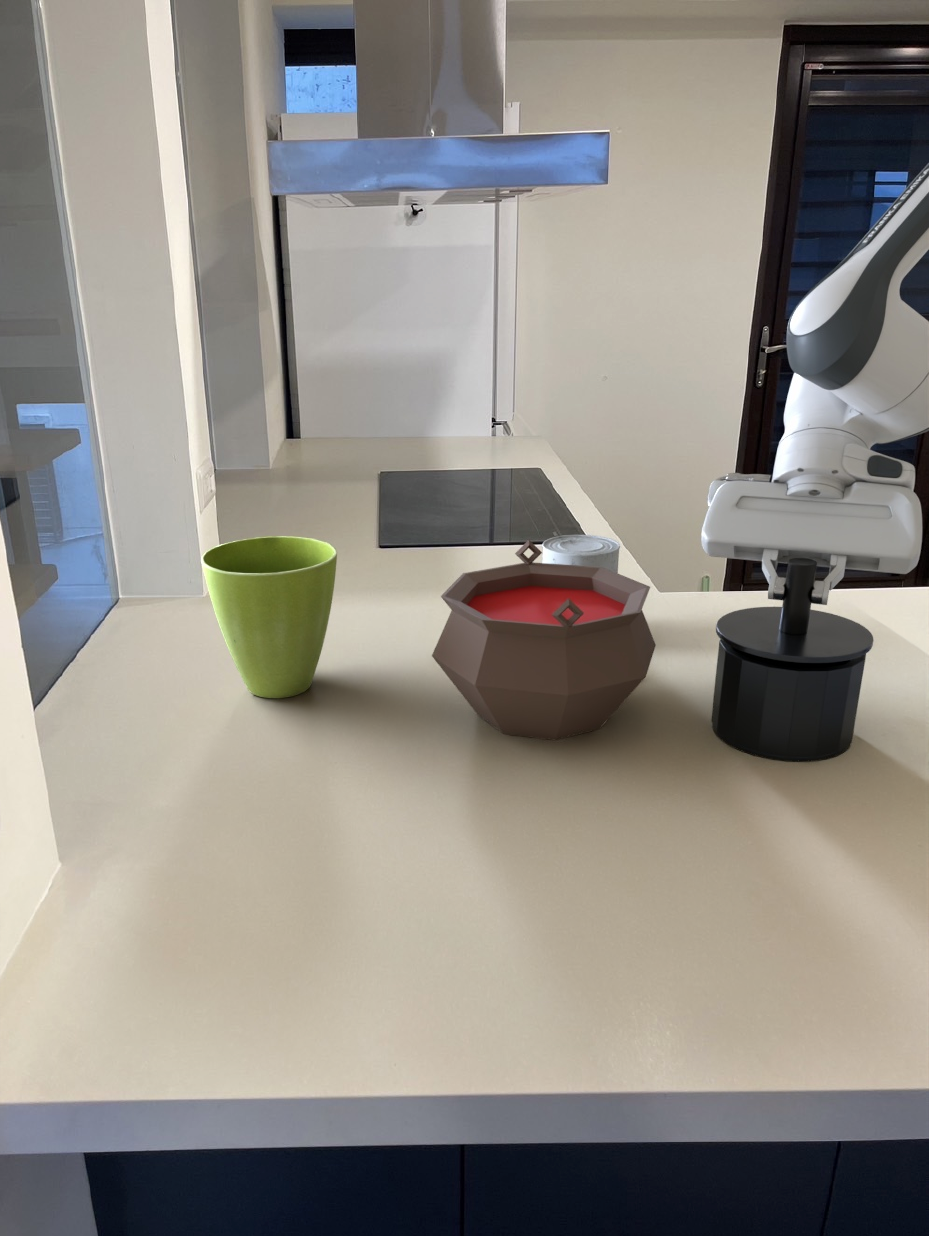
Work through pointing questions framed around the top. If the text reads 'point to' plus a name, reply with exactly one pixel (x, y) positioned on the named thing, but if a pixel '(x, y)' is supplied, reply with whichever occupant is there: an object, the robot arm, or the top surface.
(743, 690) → the pot
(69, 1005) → the top surface
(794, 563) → the lid
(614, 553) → the tin can
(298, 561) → the flower pot
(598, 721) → the brown cauldron
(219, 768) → the top surface
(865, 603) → the top surface
